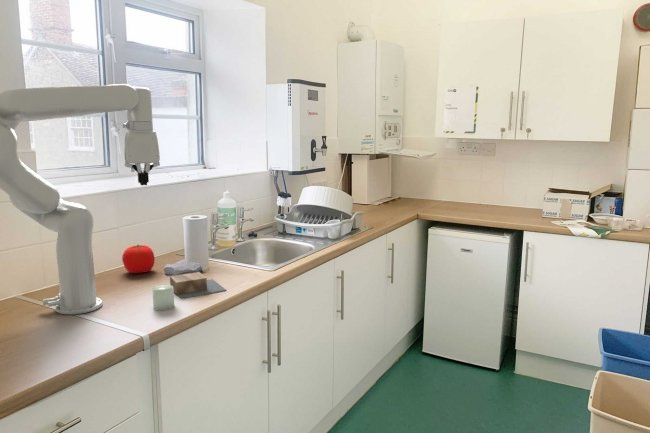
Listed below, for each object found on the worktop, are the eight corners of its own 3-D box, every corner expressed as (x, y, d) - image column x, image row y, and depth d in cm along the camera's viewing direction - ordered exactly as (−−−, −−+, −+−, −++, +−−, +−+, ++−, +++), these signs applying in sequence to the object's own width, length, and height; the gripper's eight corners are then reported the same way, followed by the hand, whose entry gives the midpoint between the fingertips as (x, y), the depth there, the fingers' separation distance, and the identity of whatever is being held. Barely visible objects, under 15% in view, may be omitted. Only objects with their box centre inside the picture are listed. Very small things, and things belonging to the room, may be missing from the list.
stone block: (204, 275, 189) (188, 266, 194) (205, 264, 187) (189, 255, 193) (178, 284, 180) (162, 274, 185) (179, 272, 178) (162, 262, 184)
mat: (181, 298, 158) (181, 297, 158) (169, 286, 169) (169, 285, 169) (226, 290, 165) (226, 289, 165) (212, 279, 177) (212, 279, 177)
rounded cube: (156, 311, 146) (154, 292, 145) (151, 305, 151) (150, 286, 150) (176, 308, 149) (175, 289, 148) (171, 302, 154) (170, 283, 153)
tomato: (151, 266, 194) (150, 240, 192) (158, 274, 184) (157, 246, 182) (120, 270, 188) (119, 243, 186) (126, 278, 178) (124, 250, 176)
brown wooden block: (176, 282, 159) (206, 277, 164) (169, 276, 166) (199, 272, 171) (176, 295, 160) (207, 290, 165) (170, 288, 167) (199, 283, 172)
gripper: (117, 127, 151) (121, 187, 154) (167, 127, 158) (169, 184, 162) (113, 127, 157) (117, 185, 160) (161, 127, 165) (164, 182, 168)
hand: (143, 184), depth 161 cm, fingers closed
